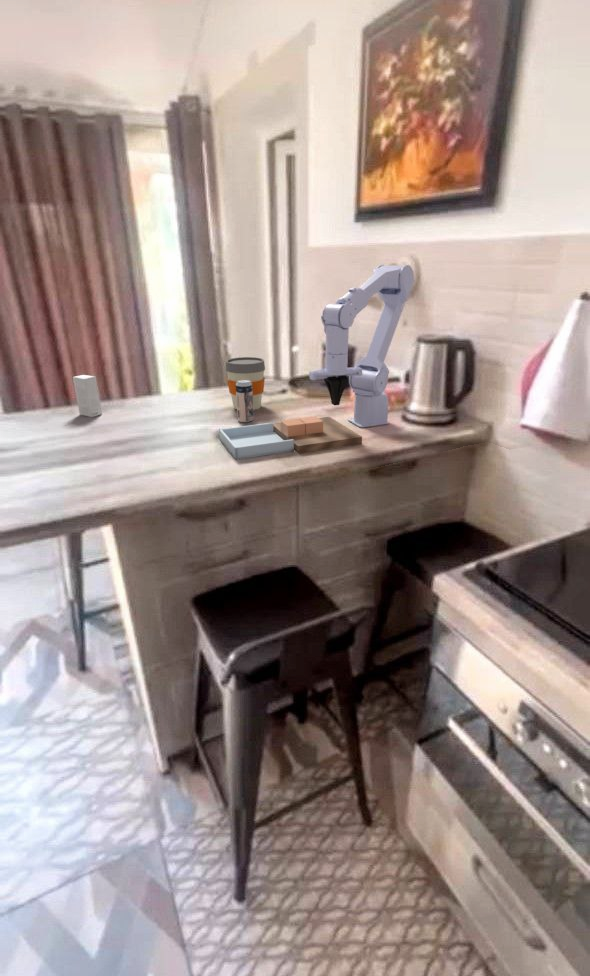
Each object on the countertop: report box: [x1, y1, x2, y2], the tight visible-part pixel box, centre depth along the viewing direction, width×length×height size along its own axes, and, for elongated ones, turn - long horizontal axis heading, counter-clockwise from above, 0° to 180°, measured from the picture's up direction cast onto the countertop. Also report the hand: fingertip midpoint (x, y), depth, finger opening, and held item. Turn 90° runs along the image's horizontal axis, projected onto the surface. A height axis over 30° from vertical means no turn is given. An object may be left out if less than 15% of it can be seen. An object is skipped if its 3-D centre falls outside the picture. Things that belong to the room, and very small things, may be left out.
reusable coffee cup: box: [225, 356, 266, 411], centre depth 165 cm, size 13×13×15 cm
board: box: [273, 416, 363, 454], centre depth 139 cm, size 18×20×2 cm
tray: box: [218, 422, 295, 460], centre depth 134 cm, size 15×16×3 cm
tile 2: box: [298, 416, 323, 434], centre depth 138 cm, size 5×5×3 cm
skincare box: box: [72, 374, 103, 418], centre depth 159 cm, size 6×4×12 cm
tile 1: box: [280, 418, 305, 437], centre depth 136 cm, size 5×5×3 cm
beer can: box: [236, 380, 255, 423], centre depth 152 cm, size 5×5×12 cm
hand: (335, 404), depth 138 cm, fingers closed
